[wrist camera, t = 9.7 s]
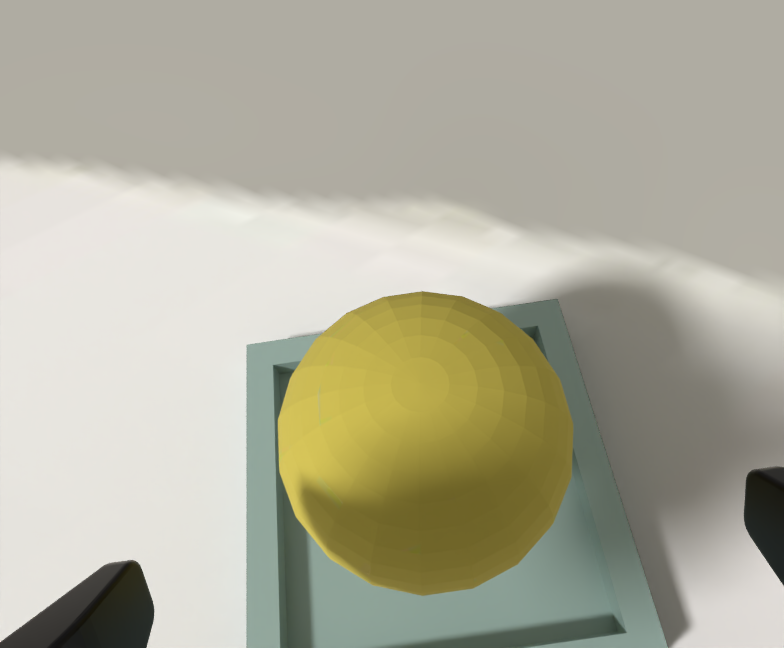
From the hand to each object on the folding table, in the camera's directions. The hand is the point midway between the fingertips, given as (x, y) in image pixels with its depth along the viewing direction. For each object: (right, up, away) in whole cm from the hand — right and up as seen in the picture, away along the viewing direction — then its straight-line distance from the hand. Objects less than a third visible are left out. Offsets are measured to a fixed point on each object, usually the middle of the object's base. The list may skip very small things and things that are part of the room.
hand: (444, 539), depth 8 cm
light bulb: (0, -3, +11) cm, 11 cm away
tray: (0, -3, +11) cm, 11 cm away
